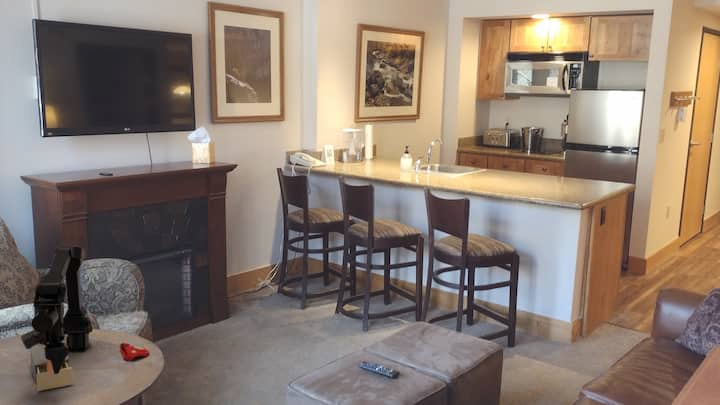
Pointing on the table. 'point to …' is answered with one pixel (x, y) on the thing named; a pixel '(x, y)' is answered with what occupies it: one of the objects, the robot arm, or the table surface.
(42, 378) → the beige open box
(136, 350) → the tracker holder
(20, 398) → the table surface
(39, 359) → the sleeve
